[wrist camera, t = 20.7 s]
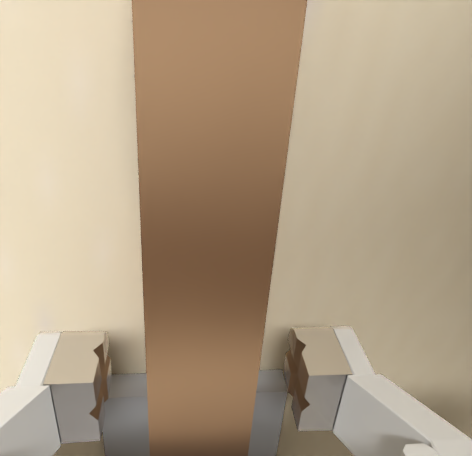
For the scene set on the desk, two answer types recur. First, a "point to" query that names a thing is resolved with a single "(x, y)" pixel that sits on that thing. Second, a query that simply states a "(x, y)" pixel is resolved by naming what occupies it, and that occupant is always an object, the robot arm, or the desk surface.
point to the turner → (208, 224)
